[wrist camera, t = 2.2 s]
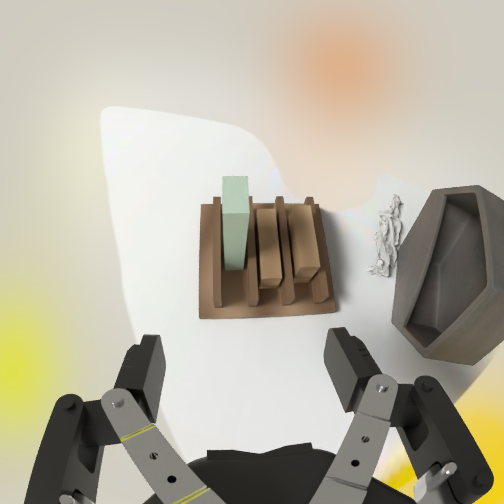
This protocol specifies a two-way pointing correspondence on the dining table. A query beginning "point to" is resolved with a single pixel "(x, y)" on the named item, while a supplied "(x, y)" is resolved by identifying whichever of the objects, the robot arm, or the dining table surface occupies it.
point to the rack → (246, 281)
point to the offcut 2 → (302, 243)
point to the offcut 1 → (267, 249)
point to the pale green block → (235, 220)
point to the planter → (453, 276)
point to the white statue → (387, 239)
